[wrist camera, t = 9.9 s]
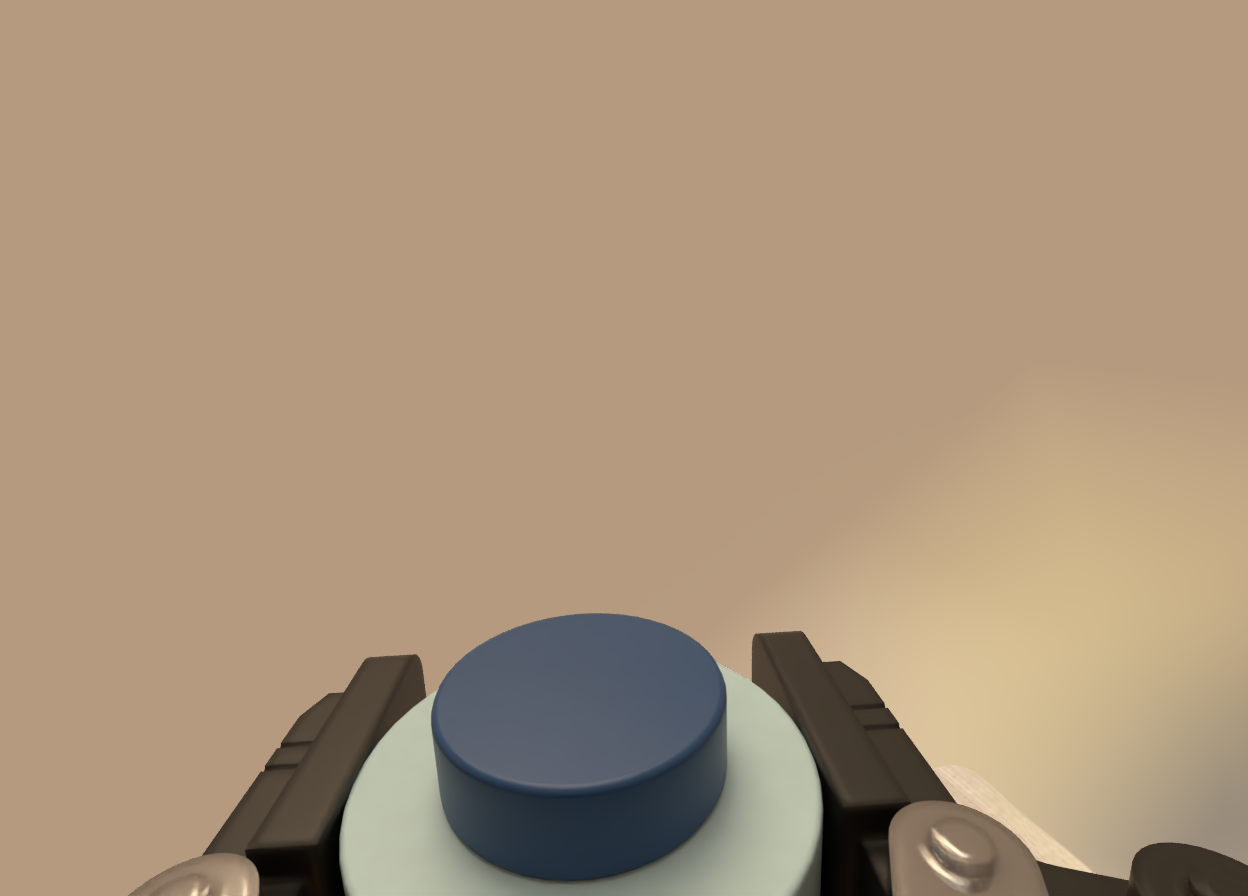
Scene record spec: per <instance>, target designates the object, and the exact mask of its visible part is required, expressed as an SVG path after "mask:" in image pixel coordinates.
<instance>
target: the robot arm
mask: <svg viewBox="0 0 1248 896" xmlns="http://www.w3.org/2000/svg"><path fill="white" fill-rule="evenodd" d="M752 682H753V683H754V684H755V685H757V686H758V687H760V688H761V689H763V690H764V691H765V692H766V693H767V694H768V695H769V696H770V697H772V698H773V699H774V700H775V701H776V702H777V703H778V704H779V705H780V706H781V707H782V708H783V709H784V711H785V712H786V713H787V714H788V715H789V716H790V718H791V719H792V720H793V721H794V723H795V724H796V726H797V727H798V729H799V731H800V732H801V734H802V735H803V737H804V738H805V741H806V743H807V745H808V747H809V749H810V752H811V754H812V756H813V758H814V761H815V763H816V767H817V770H818V774H819V778H820V782H821V786H822V798H823V809H824V811H823V837H822V863H821V889H820V896H1248V866H1247V865H1245V864H1243V863H1241V862H1239V861H1237V860H1235V859H1233V858H1230V857H1227V856H1225V855H1222V854H1220V853H1217V852H1214V851H1211V850H1207V849H1204V848H1201V847H1197V846H1192V845H1188V844H1181V843H1157V844H1152V845H1148V846H1146V847H1144V848H1142V849H1141V850H1140V851H1139V852H1137V853H1136V855H1135V857H1134V859H1133V861H1132V866H1131V872H1130V878H1129V880H1124V879H1118V878H1114V877H1109V876H1103V875H1098V874H1093V873H1088V872H1083V871H1078V870H1073V869H1068V868H1063V867H1058V866H1054V865H1050V864H1046V863H1043V862H1040V861H1037V860H1036V859H1035V858H1034V856H1033V855H1032V853H1031V852H1030V850H1029V849H1028V848H1027V847H1026V845H1025V844H1024V843H1023V842H1022V841H1021V840H1020V839H1019V838H1018V837H1017V836H1016V835H1015V834H1014V833H1013V832H1012V831H1010V830H1009V829H1008V828H1006V827H1005V826H1004V825H1002V824H1001V823H999V822H998V821H996V820H994V819H993V818H991V817H989V816H988V815H986V814H983V813H981V812H979V811H977V810H975V809H972V808H969V807H967V806H964V805H960V804H957V803H956V802H955V800H954V799H953V797H952V796H951V795H950V793H949V792H948V790H947V789H946V788H945V786H944V785H943V784H942V782H941V781H940V779H939V778H938V777H937V775H936V774H935V772H934V771H933V770H932V768H931V767H930V766H929V764H928V763H927V761H926V760H925V759H924V757H923V756H922V755H921V753H920V752H919V750H918V749H917V748H916V746H915V745H914V744H913V742H912V741H911V739H910V738H909V737H908V735H907V734H906V733H905V731H904V730H903V729H900V727H899V723H898V722H897V720H896V719H895V717H894V716H893V714H892V713H891V712H890V710H889V709H888V708H885V704H884V702H883V701H882V699H881V698H880V696H879V695H878V694H877V692H876V691H875V689H874V688H873V687H872V685H871V684H870V683H869V681H868V680H867V679H865V678H864V677H863V676H861V675H860V674H858V673H857V672H855V671H854V670H852V669H851V668H850V667H848V666H847V665H845V664H844V663H842V662H841V661H834V662H822V661H821V659H820V658H819V656H818V654H817V653H816V651H815V649H814V648H813V646H812V645H811V643H810V642H809V640H808V638H807V637H806V635H805V634H804V633H803V632H802V631H792V632H778V633H777V632H776V633H760V634H755V635H754V637H753V642H752ZM425 698H426V691H425V684H424V676H423V670H422V664H421V661H420V658H419V657H418V656H417V655H400V656H384V657H369V658H367V659H365V661H364V662H363V663H362V665H361V667H360V668H359V669H358V671H357V673H356V674H355V676H354V677H353V679H352V680H351V682H350V684H349V685H348V687H347V688H346V690H345V692H344V693H329V694H328V695H327V696H325V697H324V698H323V699H321V700H320V701H319V702H318V703H316V704H315V705H314V706H312V707H311V708H310V709H309V710H307V711H306V712H305V713H303V714H302V715H301V716H300V717H299V718H298V719H297V721H296V722H295V724H294V725H293V727H292V728H291V729H290V731H289V732H288V734H287V735H286V737H285V738H284V739H283V741H282V743H281V747H280V748H277V749H276V751H275V752H274V754H273V755H272V757H271V758H270V759H269V761H268V762H267V764H266V765H265V770H264V772H260V774H259V775H258V777H257V778H256V779H255V781H254V782H253V784H252V785H251V787H250V788H249V790H248V791H247V792H246V794H245V795H244V796H243V798H242V799H241V801H240V802H239V804H238V805H237V807H236V808H235V809H234V811H233V812H232V814H231V815H230V817H229V818H228V819H227V821H226V822H225V824H224V825H223V826H222V828H221V829H220V831H219V832H218V834H217V835H216V837H215V838H214V839H213V841H212V842H211V844H210V845H209V846H208V848H207V849H206V851H205V852H204V853H203V855H202V856H200V857H197V858H193V859H190V860H188V861H185V862H182V863H180V864H177V865H175V866H173V867H171V868H170V869H167V870H165V871H163V872H161V873H160V874H158V875H156V876H155V877H153V878H151V879H150V880H148V881H147V882H145V883H144V884H143V885H141V886H140V887H138V888H137V889H136V890H135V891H134V892H132V893H131V894H130V895H129V896H345V892H344V886H343V881H342V875H341V869H340V864H339V836H340V830H341V824H342V819H343V813H344V809H345V806H346V803H347V800H348V798H349V795H350V792H351V789H352V786H353V783H354V781H355V780H356V778H357V776H358V774H359V772H360V770H361V768H362V766H363V764H364V762H365V761H366V759H367V758H368V756H369V755H370V754H371V752H372V751H373V749H374V748H375V747H376V745H377V744H378V742H379V741H380V740H381V739H382V738H383V737H384V735H385V734H386V733H387V732H388V731H389V730H390V729H391V728H392V726H393V725H394V724H395V723H396V722H397V721H398V720H400V719H401V718H402V717H403V716H404V715H405V714H406V713H407V712H408V711H409V710H411V709H412V708H413V707H414V706H415V705H417V704H418V703H419V702H421V701H422V700H423V699H425Z"/></svg>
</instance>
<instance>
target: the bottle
mask: <svg viewBox="0 0 1248 896" xmlns="http://www.w3.org/2000/svg"><path fill="white" fill-rule="evenodd" d="M823 811H824V809H823V798H822V786H821V782H820V778H819V774H818V770H817V767H816V763H815V761H814V758H813V756H812V754H811V752H810V749H809V747H808V745H807V743H806V741H805V738H804V737H803V735H802V734H801V732H800V731H799V729H798V727H797V726H796V724H795V723H794V721H793V720H792V719H791V718H790V716H789V715H788V714H787V713H786V712H785V711H784V709H783V708H782V707H781V706H780V705H779V704H778V703H777V702H776V701H775V700H774V699H773V698H772V697H770V696H769V695H768V694H767V693H766V692H765V691H764V690H763V689H761V688H760V687H758V686H757V685H755V684H754V683H753V682H751V681H750V680H748V679H747V678H745V677H744V676H742V675H740V674H738V673H736V672H735V671H733V670H731V669H729V668H728V667H726V666H723V665H721V664H719V663H716V661H715V660H714V659H713V657H712V656H711V655H710V653H709V652H708V651H707V650H706V649H705V648H704V647H703V646H701V645H700V644H699V643H698V642H697V641H695V640H694V639H692V638H691V637H690V636H688V635H686V634H684V633H683V632H681V631H679V630H676V629H674V628H672V627H670V626H667V625H665V624H662V623H659V622H656V621H652V620H649V619H644V618H640V617H634V616H628V615H619V614H601V613H591V614H574V615H566V616H559V617H554V618H547V619H543V620H539V621H535V622H531V623H528V624H525V625H522V626H519V627H516V628H514V629H511V630H508V631H506V632H503V633H501V634H499V635H497V636H495V637H493V638H491V639H489V640H488V641H486V642H484V643H482V644H481V645H479V646H477V647H476V648H475V649H473V650H472V651H471V652H469V653H468V654H466V655H465V656H464V657H463V658H462V659H461V660H460V661H459V662H458V663H456V664H455V666H454V667H453V668H452V669H451V670H450V671H449V673H448V674H447V675H446V677H445V678H444V680H443V681H442V683H441V684H440V686H439V689H438V690H436V691H435V692H433V693H431V694H430V695H429V696H427V697H426V698H425V699H423V700H422V701H421V702H419V703H418V704H417V705H415V706H414V707H413V708H412V709H411V710H409V711H408V712H407V713H406V714H405V715H404V716H403V717H402V718H401V719H400V720H398V721H397V722H396V723H395V724H394V725H393V726H392V728H391V729H390V730H389V731H388V732H387V733H386V734H385V735H384V737H383V738H382V739H381V740H380V741H379V742H378V744H377V745H376V747H375V748H374V749H373V751H372V752H371V754H370V755H369V756H368V758H367V759H366V761H365V762H364V764H363V766H362V768H361V770H360V772H359V774H358V776H357V778H356V780H355V781H354V783H353V786H352V789H351V792H350V795H349V798H348V800H347V803H346V806H345V809H344V813H343V819H342V824H341V830H340V836H339V864H340V869H341V875H342V881H343V886H344V892H345V896H820V889H821V863H822V837H823Z"/></svg>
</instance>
